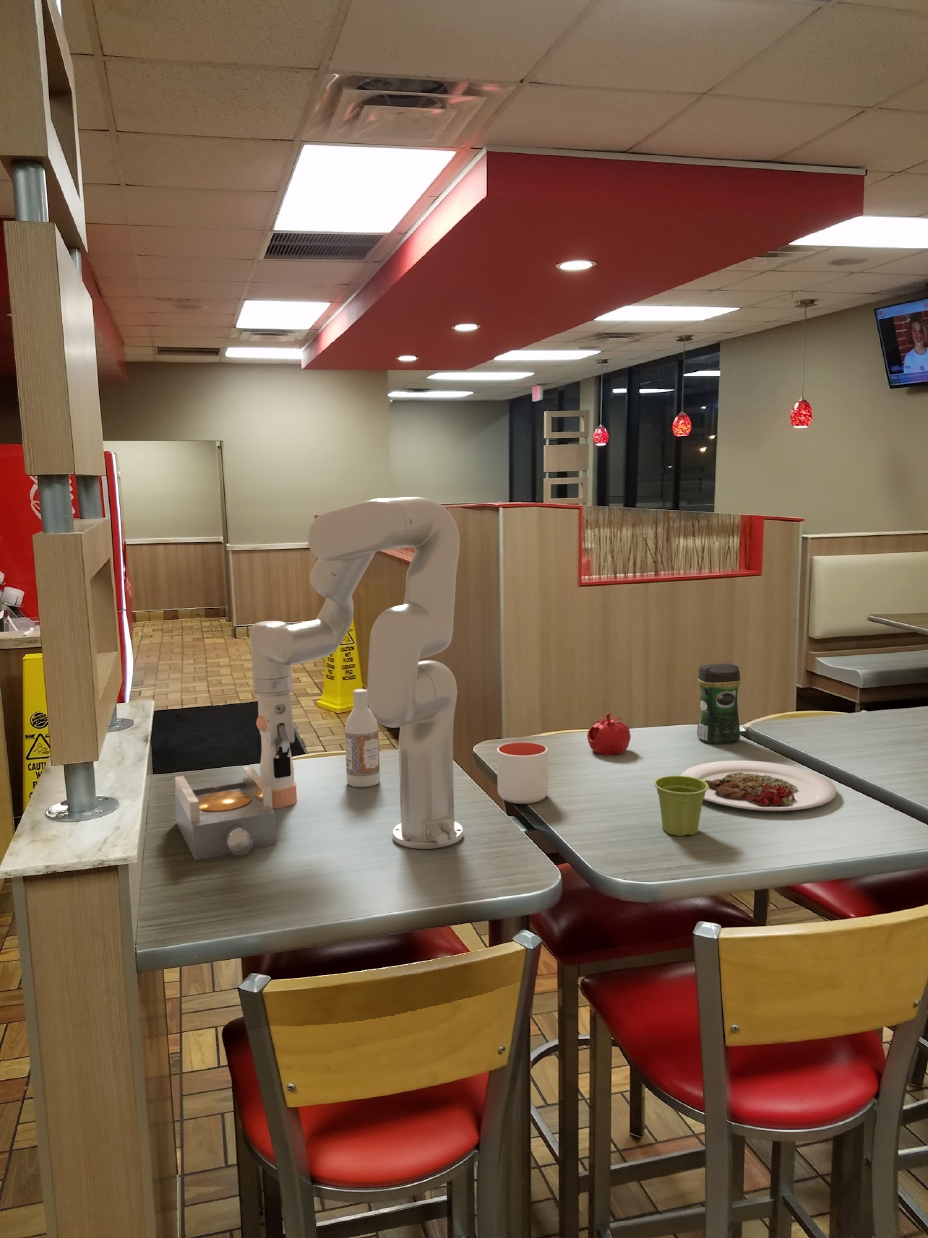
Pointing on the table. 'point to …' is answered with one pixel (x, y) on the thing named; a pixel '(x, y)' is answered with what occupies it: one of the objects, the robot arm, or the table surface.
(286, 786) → the pepper shaker
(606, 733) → the pomegranate
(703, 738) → the coffee jar
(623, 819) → the table surface
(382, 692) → the robot arm
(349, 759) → the bath foam
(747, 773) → the plated food
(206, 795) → the portable stove
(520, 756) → the cup
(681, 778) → the plant pot
